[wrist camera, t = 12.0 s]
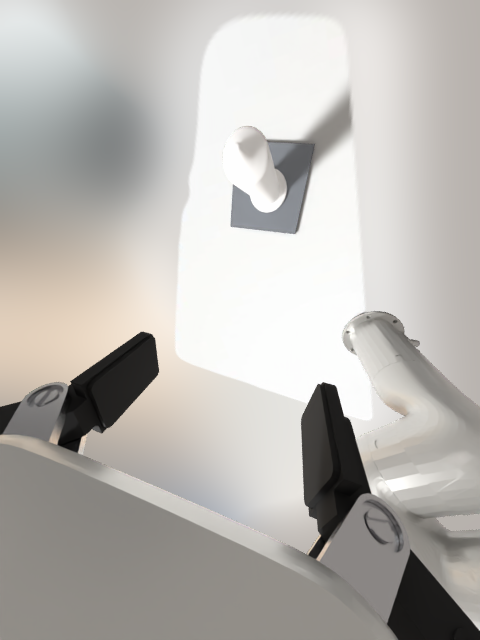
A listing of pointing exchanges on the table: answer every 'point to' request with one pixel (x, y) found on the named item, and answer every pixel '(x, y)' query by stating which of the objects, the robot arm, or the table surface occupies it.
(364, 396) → the table surface
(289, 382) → the table surface
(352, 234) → the table surface
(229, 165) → the candle
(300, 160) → the mat
